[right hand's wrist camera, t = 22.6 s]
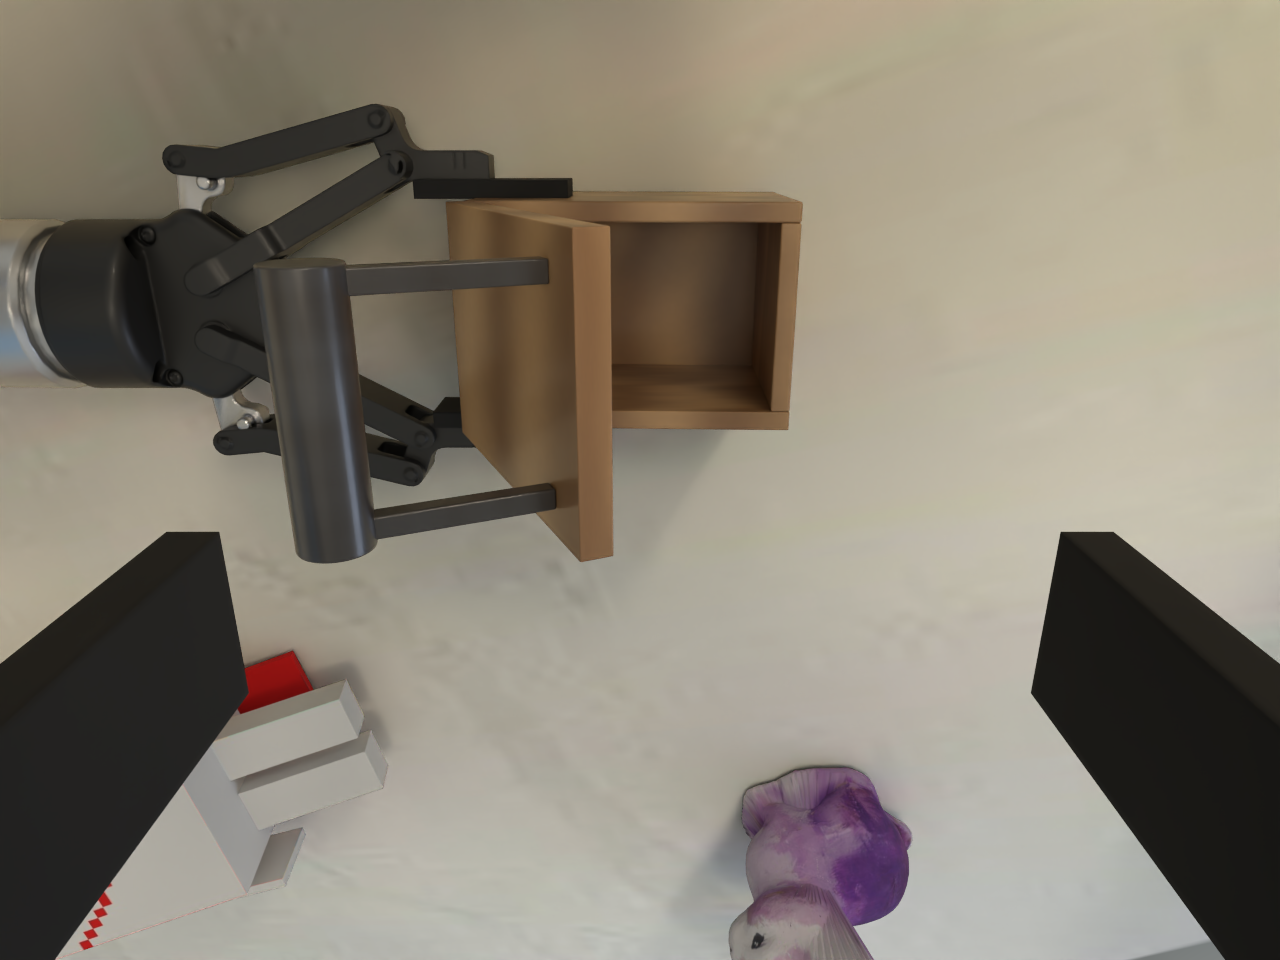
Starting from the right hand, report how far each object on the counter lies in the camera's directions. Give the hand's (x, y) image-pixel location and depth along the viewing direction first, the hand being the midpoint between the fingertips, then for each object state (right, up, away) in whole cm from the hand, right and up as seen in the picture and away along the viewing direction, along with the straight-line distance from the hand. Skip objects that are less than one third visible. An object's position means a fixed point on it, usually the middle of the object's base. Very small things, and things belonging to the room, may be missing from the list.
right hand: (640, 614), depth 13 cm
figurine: (+11, -20, +44) cm, 50 cm away
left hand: (-3, +10, +27) cm, 29 cm away
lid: (-4, +6, +17) cm, 19 cm away
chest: (0, +12, +32) cm, 34 cm away
